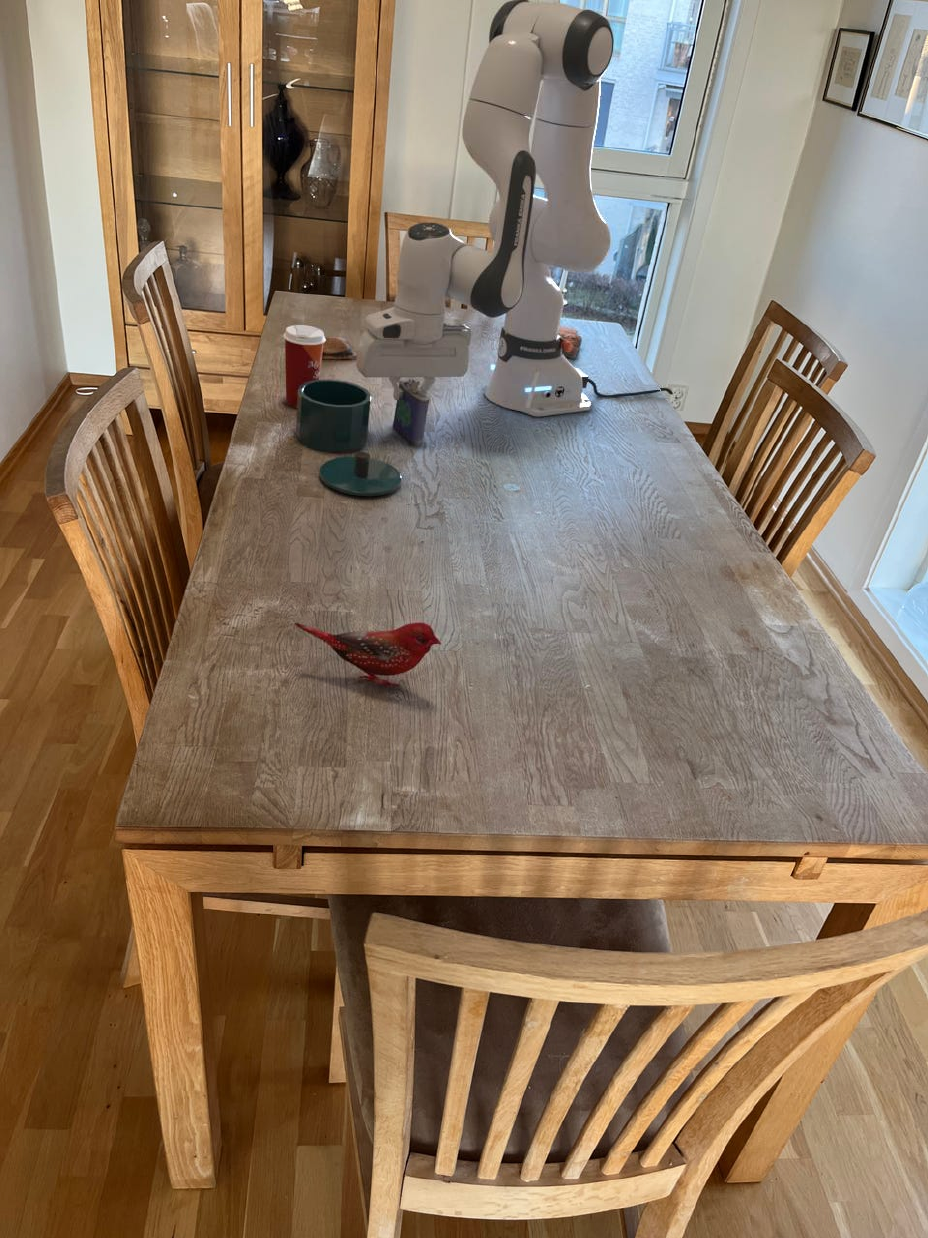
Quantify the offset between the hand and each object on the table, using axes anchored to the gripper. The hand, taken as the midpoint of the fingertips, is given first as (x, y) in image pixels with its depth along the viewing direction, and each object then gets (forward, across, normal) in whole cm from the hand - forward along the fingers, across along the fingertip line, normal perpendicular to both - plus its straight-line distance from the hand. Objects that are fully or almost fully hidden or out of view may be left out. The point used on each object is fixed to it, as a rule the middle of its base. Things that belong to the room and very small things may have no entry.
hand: (409, 398), depth 177 cm
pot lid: (+6, +14, +17) cm, 23 cm away
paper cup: (+7, +16, -16) cm, 23 cm away
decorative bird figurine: (+7, +30, +69) cm, 76 cm away
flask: (+7, 0, +1) cm, 7 cm away
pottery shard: (+7, -55, -48) cm, 73 cm away
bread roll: (+7, +2, -43) cm, 44 cm away
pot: (+7, +14, 0) cm, 16 cm away
